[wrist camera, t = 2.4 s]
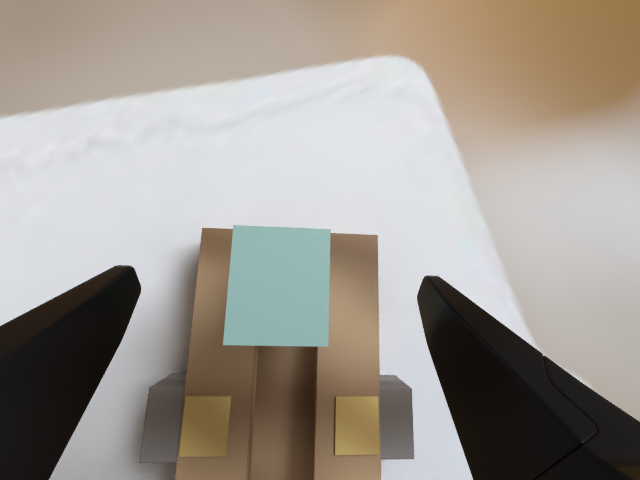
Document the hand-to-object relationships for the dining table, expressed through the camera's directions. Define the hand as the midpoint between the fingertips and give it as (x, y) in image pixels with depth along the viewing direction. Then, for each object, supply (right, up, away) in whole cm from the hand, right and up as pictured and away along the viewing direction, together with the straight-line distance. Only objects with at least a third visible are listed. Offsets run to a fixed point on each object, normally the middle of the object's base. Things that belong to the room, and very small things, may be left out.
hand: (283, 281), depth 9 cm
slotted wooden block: (-1, -8, +6) cm, 10 cm away
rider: (-1, -1, +6) cm, 6 cm away
